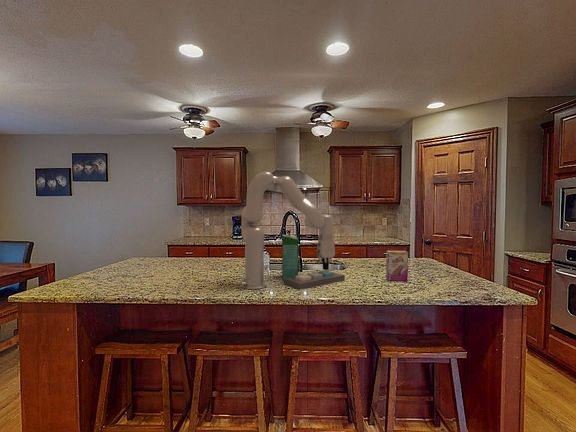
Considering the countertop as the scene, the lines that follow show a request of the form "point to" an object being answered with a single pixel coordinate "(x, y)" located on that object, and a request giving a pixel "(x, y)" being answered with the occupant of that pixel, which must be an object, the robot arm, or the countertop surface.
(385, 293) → the countertop surface
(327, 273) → the teal key
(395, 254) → the candy bar box
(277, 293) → the countertop surface
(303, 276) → the cream key
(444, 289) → the countertop surface
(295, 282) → the keypad
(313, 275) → the slate key
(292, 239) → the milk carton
